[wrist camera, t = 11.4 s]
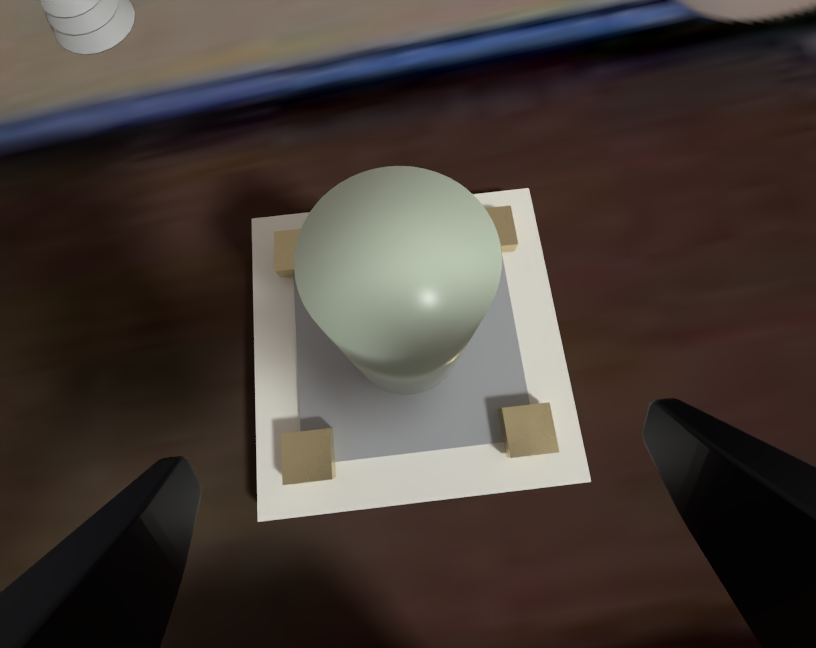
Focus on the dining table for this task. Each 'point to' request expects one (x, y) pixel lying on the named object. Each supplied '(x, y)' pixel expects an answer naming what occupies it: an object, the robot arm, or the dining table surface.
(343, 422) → the display tile
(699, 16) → the dining table surface
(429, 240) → the sage green capsule
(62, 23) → the chalice
